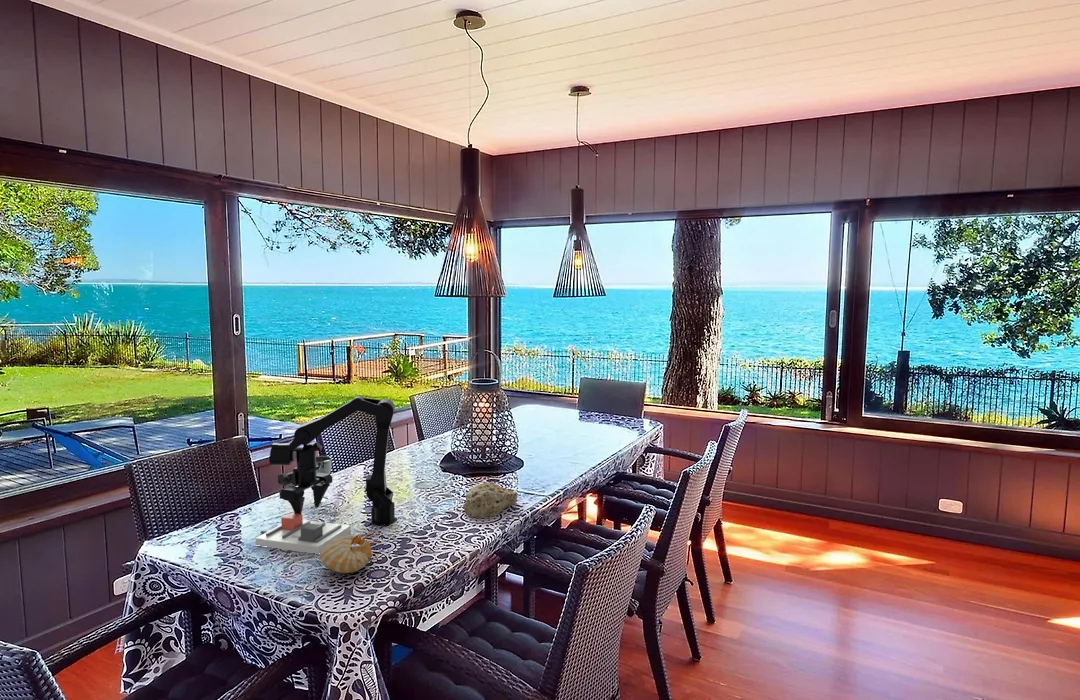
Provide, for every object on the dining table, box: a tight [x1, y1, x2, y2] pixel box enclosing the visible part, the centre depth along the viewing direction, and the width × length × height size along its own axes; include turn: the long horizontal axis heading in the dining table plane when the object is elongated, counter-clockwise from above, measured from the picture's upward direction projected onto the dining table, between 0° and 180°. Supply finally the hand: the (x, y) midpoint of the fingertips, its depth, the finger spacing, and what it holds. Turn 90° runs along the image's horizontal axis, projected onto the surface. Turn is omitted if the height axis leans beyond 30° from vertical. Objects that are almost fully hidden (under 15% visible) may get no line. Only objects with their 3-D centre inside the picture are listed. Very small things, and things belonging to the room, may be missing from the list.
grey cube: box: [301, 523, 323, 542], centre depth 172 cm, size 4×4×4 cm
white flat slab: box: [255, 519, 352, 555], centre depth 178 cm, size 26×16×3 cm, turn 75°
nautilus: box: [318, 529, 383, 574], centre depth 161 cm, size 8×22×15 cm
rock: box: [462, 482, 518, 519], centre depth 204 cm, size 21×14×10 cm
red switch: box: [280, 512, 304, 530], centre depth 180 cm, size 4×4×4 cm
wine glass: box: [316, 455, 332, 501], centre depth 211 cm, size 8×8×15 cm
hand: (307, 512), depth 187 cm, fingers open, 9 cm apart
